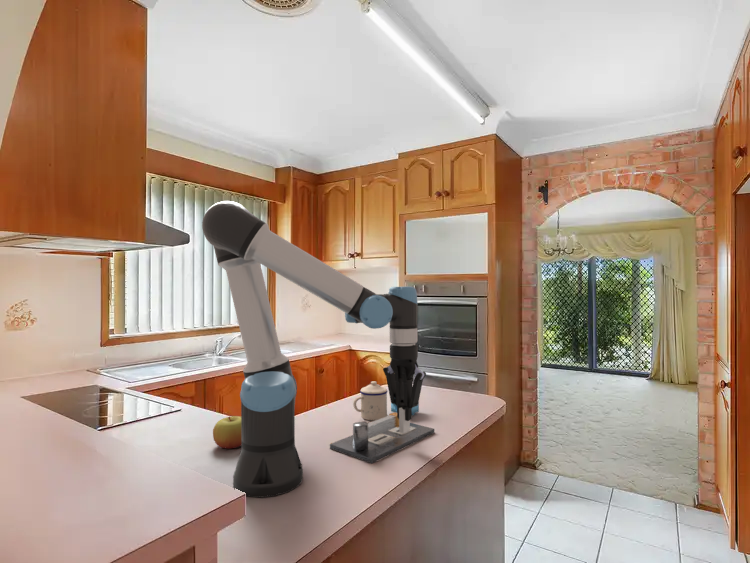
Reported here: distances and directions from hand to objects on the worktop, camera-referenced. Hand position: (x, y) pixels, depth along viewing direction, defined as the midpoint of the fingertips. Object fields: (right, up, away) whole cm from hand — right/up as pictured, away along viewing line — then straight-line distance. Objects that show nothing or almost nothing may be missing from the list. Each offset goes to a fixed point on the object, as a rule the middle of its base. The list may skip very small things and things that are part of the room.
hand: (404, 431), depth 115 cm
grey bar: (-7, -3, +2) cm, 8 cm away
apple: (-47, -5, +3) cm, 48 cm away
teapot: (+3, -5, +31) cm, 31 cm away
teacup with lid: (-10, -5, +27) cm, 29 cm away
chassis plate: (-5, -5, +6) cm, 9 cm away
